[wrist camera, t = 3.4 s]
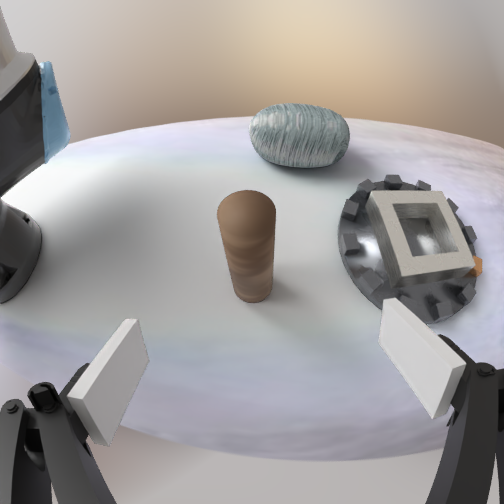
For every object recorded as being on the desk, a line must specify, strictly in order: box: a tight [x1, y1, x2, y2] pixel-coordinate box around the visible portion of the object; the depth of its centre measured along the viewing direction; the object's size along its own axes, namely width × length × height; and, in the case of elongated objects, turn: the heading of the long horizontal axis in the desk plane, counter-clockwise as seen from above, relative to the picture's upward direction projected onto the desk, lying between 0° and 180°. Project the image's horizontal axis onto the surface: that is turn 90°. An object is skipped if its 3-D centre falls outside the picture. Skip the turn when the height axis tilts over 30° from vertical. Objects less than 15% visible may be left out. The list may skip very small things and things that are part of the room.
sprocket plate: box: [338, 175, 482, 324], centre depth 30 cm, size 20×20×4 cm
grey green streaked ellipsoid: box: [249, 103, 350, 168], centre depth 36 cm, size 14×10×10 cm
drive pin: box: [217, 190, 276, 303], centre depth 25 cm, size 4×4×12 cm
